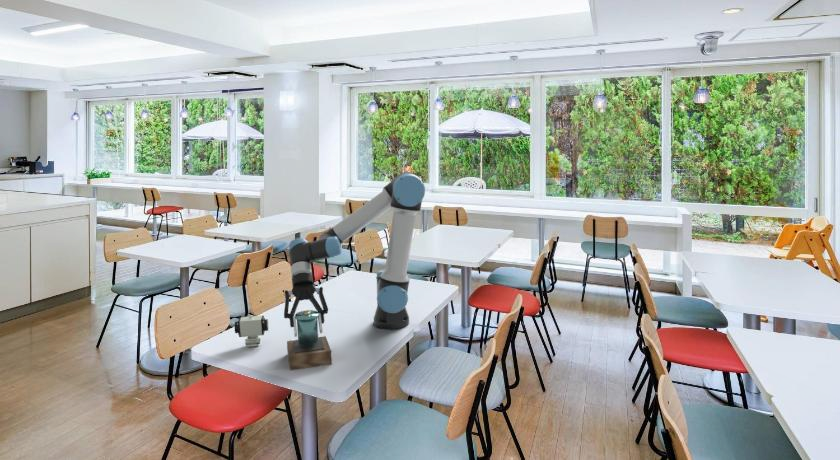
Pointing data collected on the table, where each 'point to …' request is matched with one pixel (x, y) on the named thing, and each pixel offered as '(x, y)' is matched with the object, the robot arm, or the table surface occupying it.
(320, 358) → the walnut stand
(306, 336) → the teal glass jar
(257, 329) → the pneumatic valve
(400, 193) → the robot arm
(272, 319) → the table surface
